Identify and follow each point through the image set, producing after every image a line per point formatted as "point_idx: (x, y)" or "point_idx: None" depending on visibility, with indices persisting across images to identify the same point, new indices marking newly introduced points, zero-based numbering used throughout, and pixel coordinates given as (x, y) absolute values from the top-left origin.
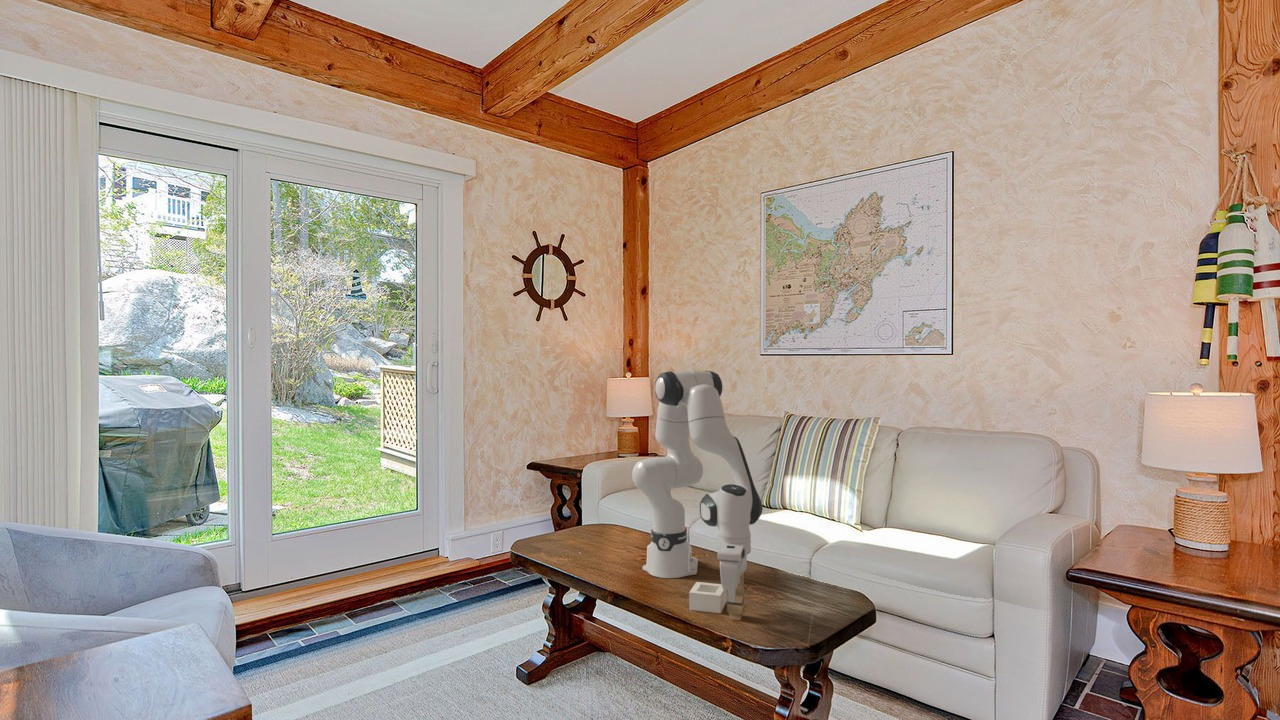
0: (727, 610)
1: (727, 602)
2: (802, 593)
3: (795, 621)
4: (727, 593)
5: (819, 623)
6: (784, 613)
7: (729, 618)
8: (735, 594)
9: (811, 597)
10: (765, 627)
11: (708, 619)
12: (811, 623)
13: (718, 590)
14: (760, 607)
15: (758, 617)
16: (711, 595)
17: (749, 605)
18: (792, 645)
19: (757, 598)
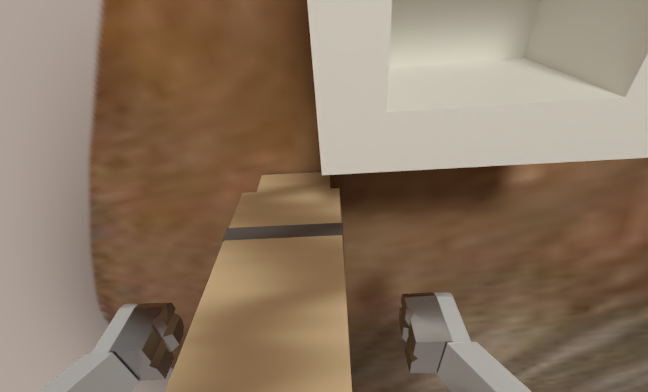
0: (241, 201)
1: (224, 241)
2: (629, 349)
3: (351, 355)
4: (201, 305)
5: (358, 389)
6: None
7: (262, 180)
8: (131, 387)
9: (580, 367)
10: None
11: (201, 52)
12: (351, 379)
13: (469, 123)
14: (469, 264)
15: (347, 273)
16: (314, 79)
17: (493, 222)
18: (172, 363)
19: (598, 237)
